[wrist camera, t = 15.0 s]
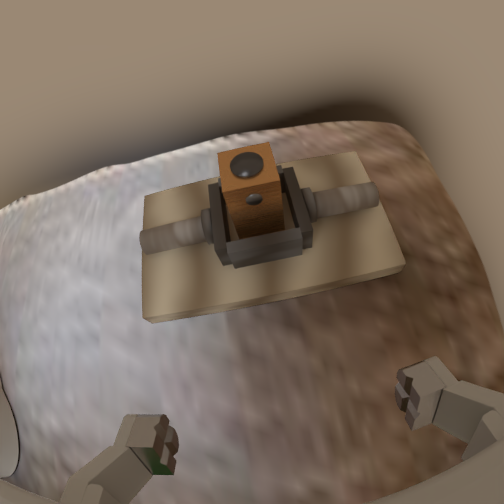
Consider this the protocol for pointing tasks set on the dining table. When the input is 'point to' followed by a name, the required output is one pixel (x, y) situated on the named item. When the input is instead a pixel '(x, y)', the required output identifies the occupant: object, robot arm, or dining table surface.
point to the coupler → (252, 190)
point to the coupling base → (264, 242)
